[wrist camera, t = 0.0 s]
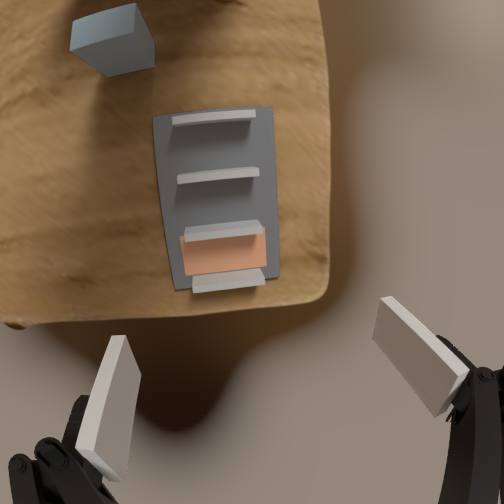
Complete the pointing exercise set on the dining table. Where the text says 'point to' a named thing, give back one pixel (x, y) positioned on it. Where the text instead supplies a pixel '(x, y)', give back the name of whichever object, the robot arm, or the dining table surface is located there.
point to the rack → (219, 196)
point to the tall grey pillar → (114, 41)
